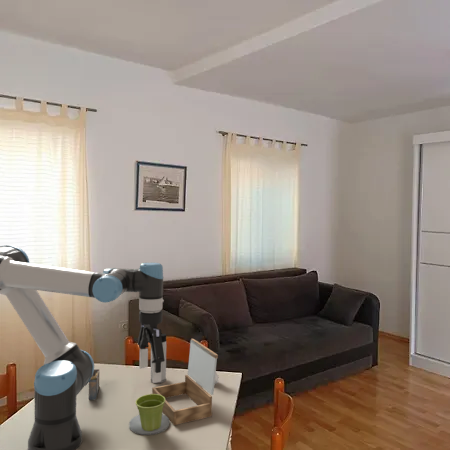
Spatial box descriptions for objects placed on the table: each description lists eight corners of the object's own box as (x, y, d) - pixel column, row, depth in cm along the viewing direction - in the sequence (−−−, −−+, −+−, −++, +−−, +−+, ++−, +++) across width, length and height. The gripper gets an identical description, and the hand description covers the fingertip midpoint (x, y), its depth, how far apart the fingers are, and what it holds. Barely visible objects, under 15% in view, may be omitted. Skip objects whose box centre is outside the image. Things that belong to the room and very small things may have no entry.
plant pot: (160, 435, 136) (159, 408, 135) (131, 433, 137) (130, 406, 137) (169, 420, 145) (169, 394, 144) (142, 418, 146) (141, 393, 146)
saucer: (136, 438, 136) (136, 435, 136) (124, 420, 147) (124, 417, 147) (175, 429, 142) (175, 426, 142) (161, 412, 153) (161, 409, 153)
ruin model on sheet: (97, 400, 163) (97, 374, 163) (88, 400, 162) (89, 375, 162) (100, 388, 174) (100, 363, 174) (92, 388, 174) (92, 364, 173)
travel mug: (146, 381, 181) (147, 333, 180) (157, 376, 186) (158, 329, 185) (157, 385, 177) (158, 336, 176) (168, 379, 183) (169, 332, 182)
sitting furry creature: (203, 377, 186) (204, 349, 186) (222, 380, 183) (223, 352, 183) (194, 385, 178) (194, 356, 177) (213, 388, 174) (214, 359, 174)
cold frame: (173, 425, 145) (173, 404, 144) (152, 399, 164) (152, 381, 163) (211, 416, 151) (211, 396, 151) (186, 392, 170) (187, 374, 170)
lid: (215, 354, 151) (217, 354, 152) (190, 338, 170) (193, 338, 170) (211, 394, 151) (214, 394, 152) (187, 374, 170) (189, 374, 170)
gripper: (175, 318, 134) (174, 386, 135) (149, 301, 156) (148, 360, 157) (152, 320, 131) (151, 390, 131) (129, 303, 153) (128, 363, 153)
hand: (149, 374), depth 144 cm, fingers open, 13 cm apart
